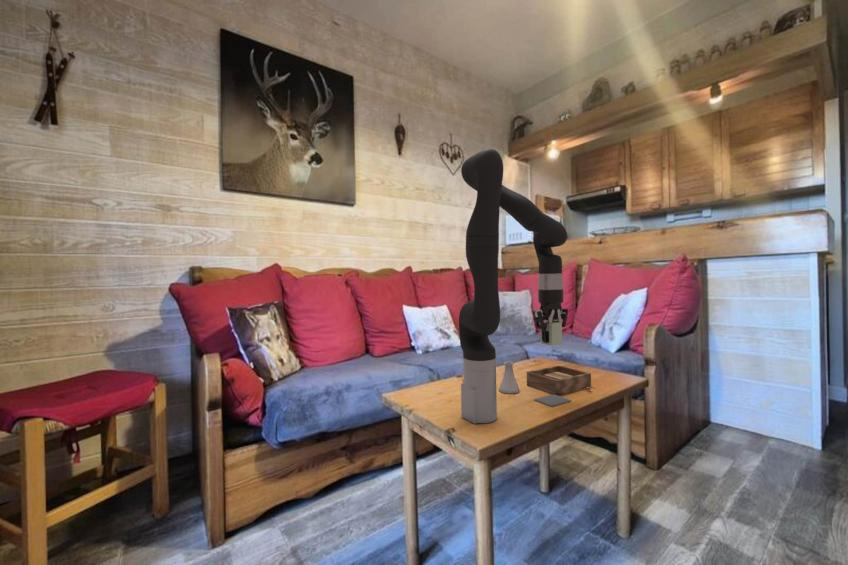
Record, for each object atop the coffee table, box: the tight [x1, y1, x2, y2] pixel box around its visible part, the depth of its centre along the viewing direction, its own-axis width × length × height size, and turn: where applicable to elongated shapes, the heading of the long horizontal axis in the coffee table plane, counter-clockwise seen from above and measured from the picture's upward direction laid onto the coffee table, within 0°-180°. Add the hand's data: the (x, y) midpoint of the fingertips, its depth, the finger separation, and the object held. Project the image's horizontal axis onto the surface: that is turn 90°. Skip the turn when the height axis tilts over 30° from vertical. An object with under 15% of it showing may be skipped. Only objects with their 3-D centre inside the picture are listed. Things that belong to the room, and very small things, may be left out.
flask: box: [498, 361, 521, 394], centre depth 125 cm, size 7×7×10 cm
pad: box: [534, 394, 572, 408], centre depth 114 cm, size 9×7×1 cm
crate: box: [526, 364, 592, 397], centre depth 129 cm, size 17×14×5 cm
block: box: [540, 321, 563, 347], centre depth 114 cm, size 4×4×7 cm
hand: (551, 341), depth 114 cm, fingers closed on block, 4 cm apart
